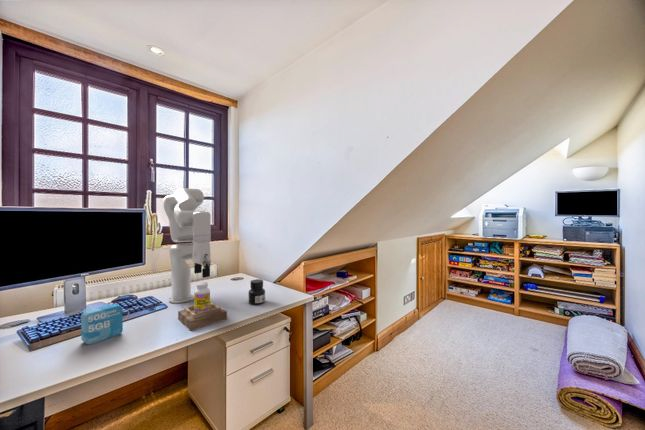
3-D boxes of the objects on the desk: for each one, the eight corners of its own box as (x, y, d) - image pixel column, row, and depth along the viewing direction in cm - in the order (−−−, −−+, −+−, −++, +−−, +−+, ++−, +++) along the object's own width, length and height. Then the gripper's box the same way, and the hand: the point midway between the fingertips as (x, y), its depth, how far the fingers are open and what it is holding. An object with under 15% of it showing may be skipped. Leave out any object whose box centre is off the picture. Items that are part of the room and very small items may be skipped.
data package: (85, 346, 100) (84, 314, 99) (81, 342, 102) (80, 311, 102) (122, 333, 110) (122, 304, 109) (118, 330, 112) (118, 302, 112)
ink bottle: (259, 306, 140) (258, 284, 140) (244, 304, 143) (244, 282, 143) (268, 300, 149) (268, 279, 149) (254, 298, 152) (254, 278, 152)
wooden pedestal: (178, 319, 124) (178, 307, 123) (212, 310, 135) (212, 299, 135) (190, 330, 112) (190, 317, 112) (226, 319, 124) (226, 307, 123)
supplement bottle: (194, 314, 119) (194, 286, 119) (194, 309, 125) (193, 282, 125) (210, 312, 122) (210, 284, 122) (209, 307, 128) (209, 280, 128)
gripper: (186, 237, 126) (186, 272, 127) (200, 240, 114) (200, 280, 114) (202, 236, 131) (203, 270, 132) (217, 239, 119) (217, 277, 120)
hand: (202, 275), depth 123 cm, fingers open, 9 cm apart
